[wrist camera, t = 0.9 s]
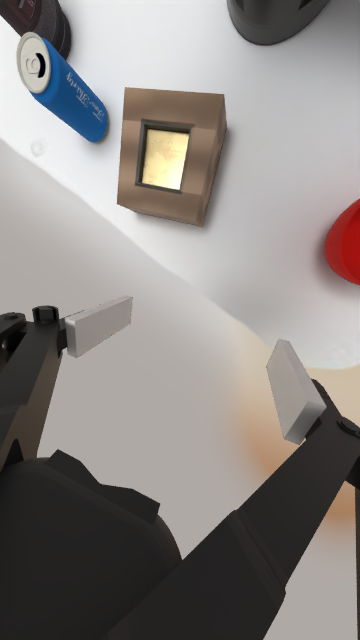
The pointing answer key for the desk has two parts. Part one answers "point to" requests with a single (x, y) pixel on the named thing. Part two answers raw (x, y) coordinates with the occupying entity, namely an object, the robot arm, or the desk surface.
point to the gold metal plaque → (164, 158)
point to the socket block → (200, 160)
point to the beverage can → (60, 87)
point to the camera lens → (39, 21)
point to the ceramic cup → (345, 244)
